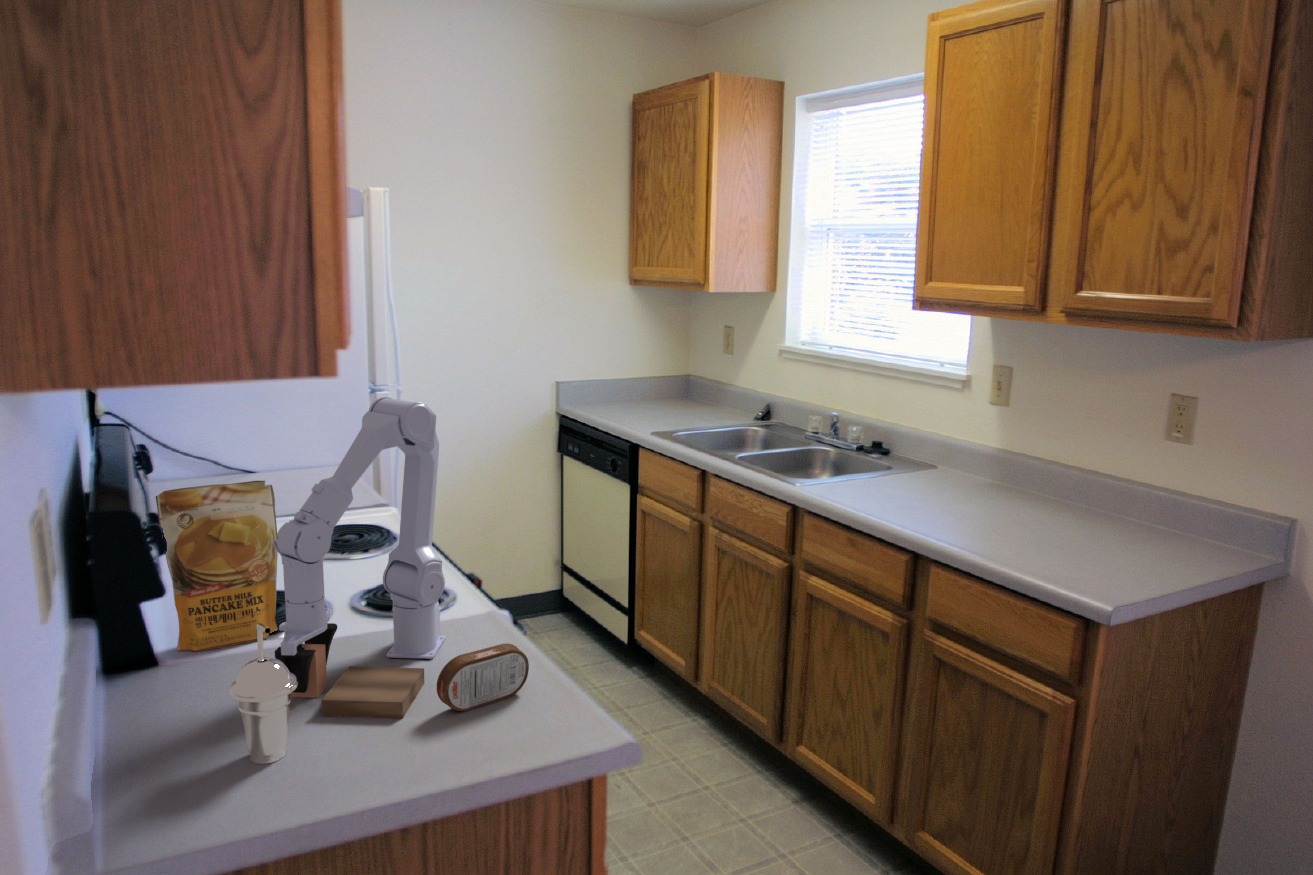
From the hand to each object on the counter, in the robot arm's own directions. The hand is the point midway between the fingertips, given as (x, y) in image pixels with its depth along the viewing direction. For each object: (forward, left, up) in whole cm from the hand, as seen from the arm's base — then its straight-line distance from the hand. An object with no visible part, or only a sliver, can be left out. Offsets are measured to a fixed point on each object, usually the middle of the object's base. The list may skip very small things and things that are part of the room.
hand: (309, 680), depth 148 cm
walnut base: (+2, +11, -2) cm, 11 cm away
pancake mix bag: (-19, -22, -2) cm, 29 cm away
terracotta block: (0, 0, -2) cm, 2 cm away
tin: (+2, +28, -2) cm, 28 cm away
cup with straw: (+20, +2, -2) cm, 20 cm away
